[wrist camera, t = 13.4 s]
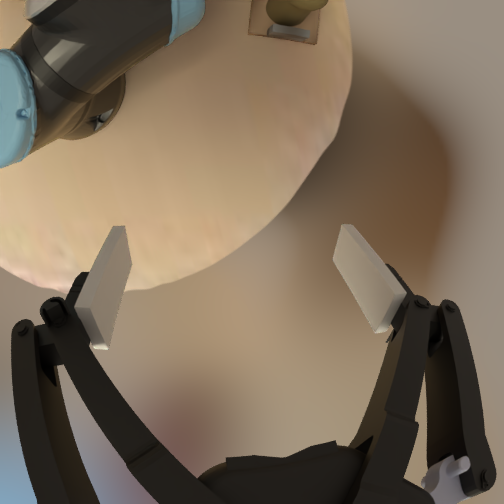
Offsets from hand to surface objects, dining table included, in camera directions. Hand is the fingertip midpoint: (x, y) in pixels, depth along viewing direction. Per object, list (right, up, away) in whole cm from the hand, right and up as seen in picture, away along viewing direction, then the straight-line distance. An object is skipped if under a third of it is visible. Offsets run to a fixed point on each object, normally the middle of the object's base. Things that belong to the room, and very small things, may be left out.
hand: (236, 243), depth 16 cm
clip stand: (+6, +35, +12) cm, 37 cm away
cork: (+6, +34, +12) cm, 37 cm away
